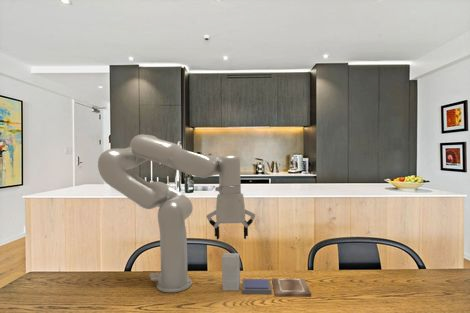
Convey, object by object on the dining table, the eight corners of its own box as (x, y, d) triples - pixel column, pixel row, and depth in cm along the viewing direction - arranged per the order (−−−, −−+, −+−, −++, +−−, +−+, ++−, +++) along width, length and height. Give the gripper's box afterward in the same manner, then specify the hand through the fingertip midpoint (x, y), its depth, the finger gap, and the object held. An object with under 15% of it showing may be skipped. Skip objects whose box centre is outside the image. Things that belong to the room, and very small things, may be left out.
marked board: (274, 296, 105) (274, 292, 104) (272, 281, 117) (272, 277, 116) (311, 296, 104) (311, 292, 104) (304, 281, 116) (304, 277, 116)
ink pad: (242, 294, 107) (242, 288, 107) (242, 282, 116) (242, 277, 116) (271, 294, 106) (271, 289, 106) (269, 282, 115) (269, 278, 115)
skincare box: (240, 285, 113) (239, 253, 113) (239, 291, 109) (238, 257, 109) (223, 285, 114) (223, 252, 113) (222, 290, 109) (221, 256, 109)
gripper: (204, 192, 107) (205, 241, 107) (254, 191, 106) (256, 241, 107) (207, 189, 115) (208, 235, 115) (254, 188, 114) (255, 235, 114)
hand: (231, 238), depth 111 cm, fingers open, 9 cm apart
